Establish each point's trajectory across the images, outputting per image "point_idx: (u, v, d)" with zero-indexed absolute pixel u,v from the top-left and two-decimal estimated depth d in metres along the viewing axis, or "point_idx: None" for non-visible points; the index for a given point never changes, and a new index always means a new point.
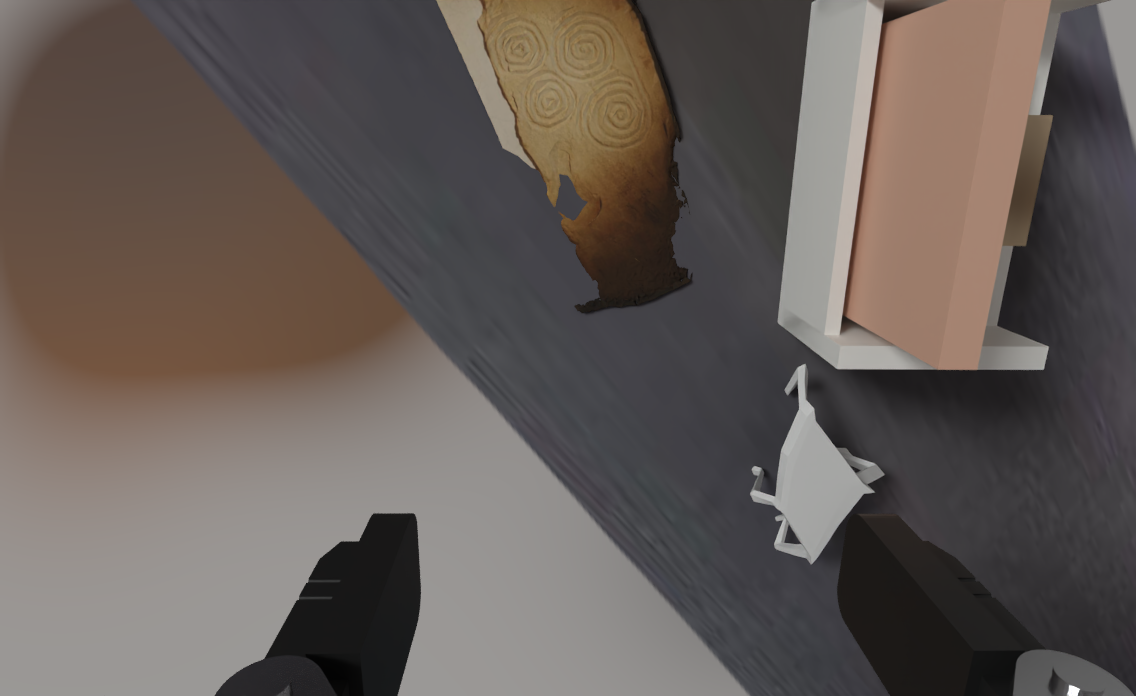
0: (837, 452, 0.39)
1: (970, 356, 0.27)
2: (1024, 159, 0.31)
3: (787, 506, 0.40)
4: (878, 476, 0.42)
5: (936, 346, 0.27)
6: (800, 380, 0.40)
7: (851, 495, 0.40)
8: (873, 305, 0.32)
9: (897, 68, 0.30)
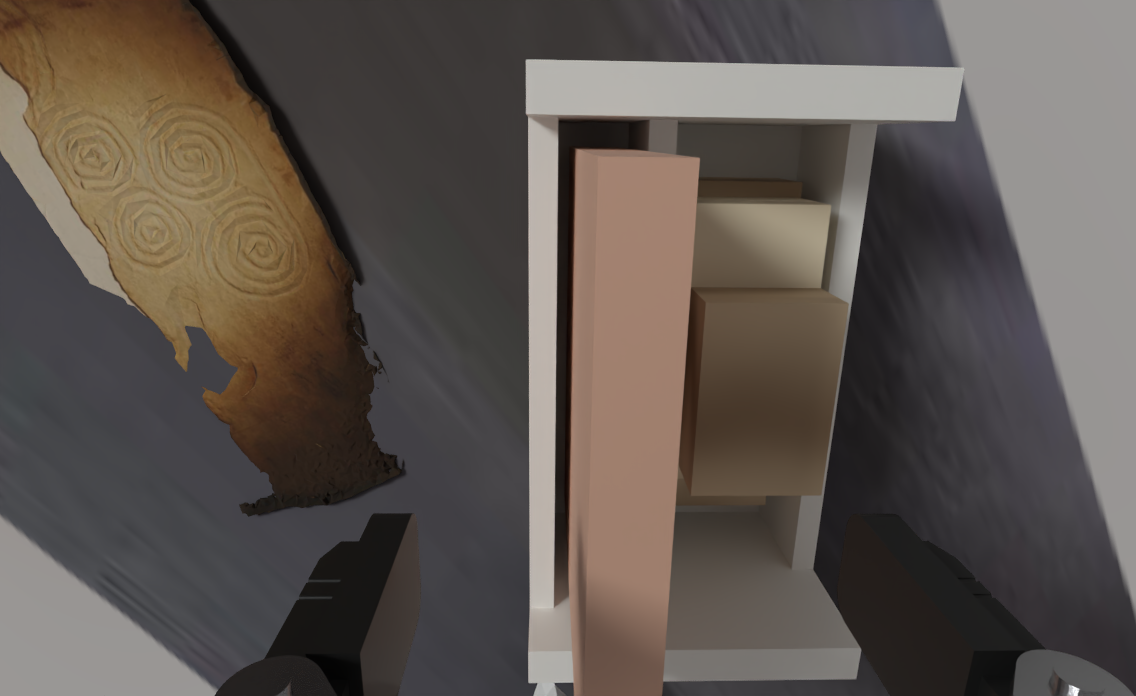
0: None
1: None
2: (807, 370, 0.19)
3: None
4: None
5: None
6: None
7: None
8: (571, 596, 0.20)
9: (576, 232, 0.18)
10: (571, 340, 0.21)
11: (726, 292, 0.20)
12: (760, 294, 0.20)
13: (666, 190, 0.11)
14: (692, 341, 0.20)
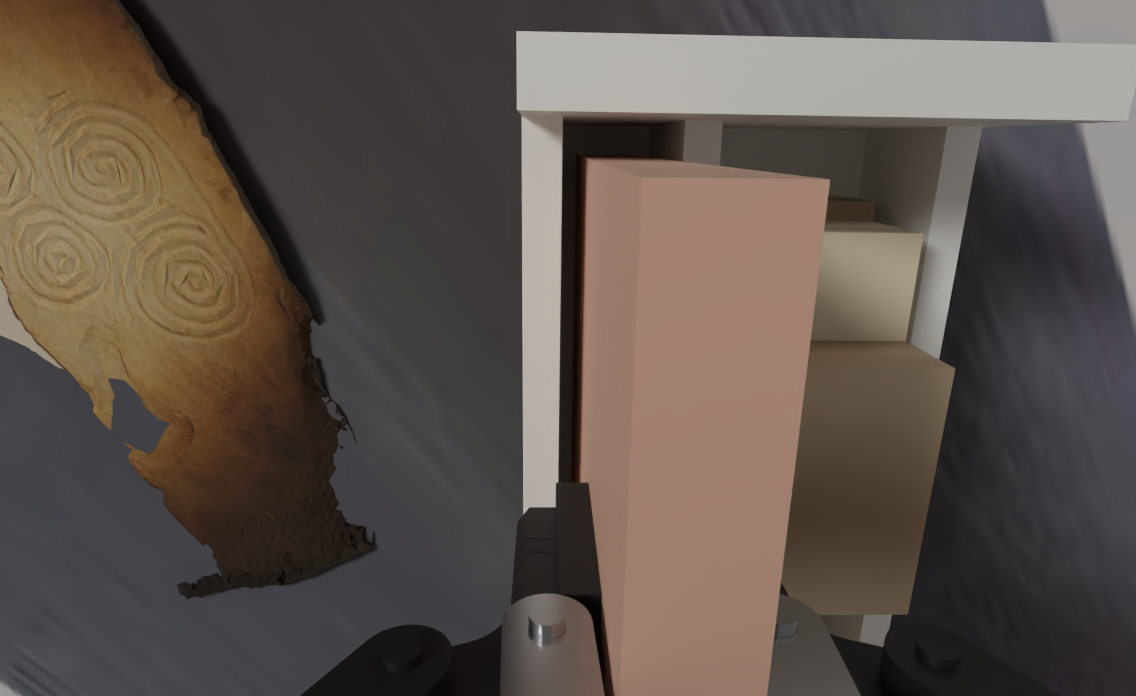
0: None
1: None
2: (895, 455, 0.14)
3: None
4: None
5: None
6: None
7: None
8: None
9: (588, 273, 0.13)
10: (580, 406, 0.16)
11: None
12: (831, 352, 0.15)
13: (767, 238, 0.06)
14: None
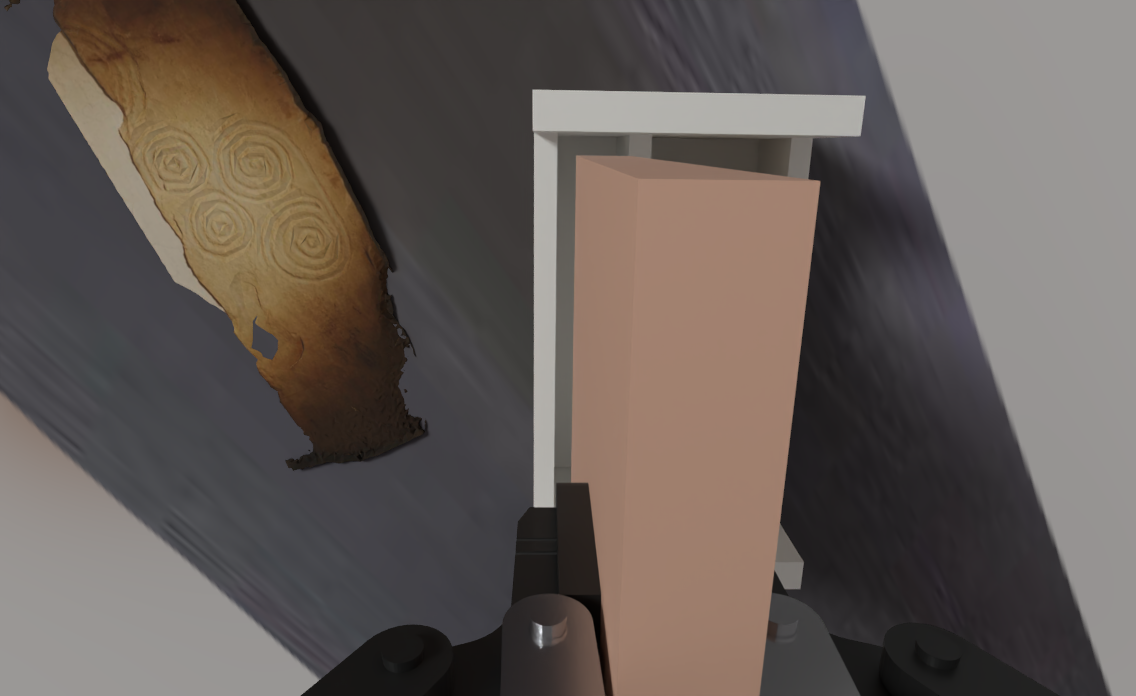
0: None
1: None
2: None
3: None
4: None
5: None
6: None
7: None
8: None
9: (587, 272, 0.13)
10: (579, 404, 0.16)
11: None
12: None
13: (759, 238, 0.06)
14: None
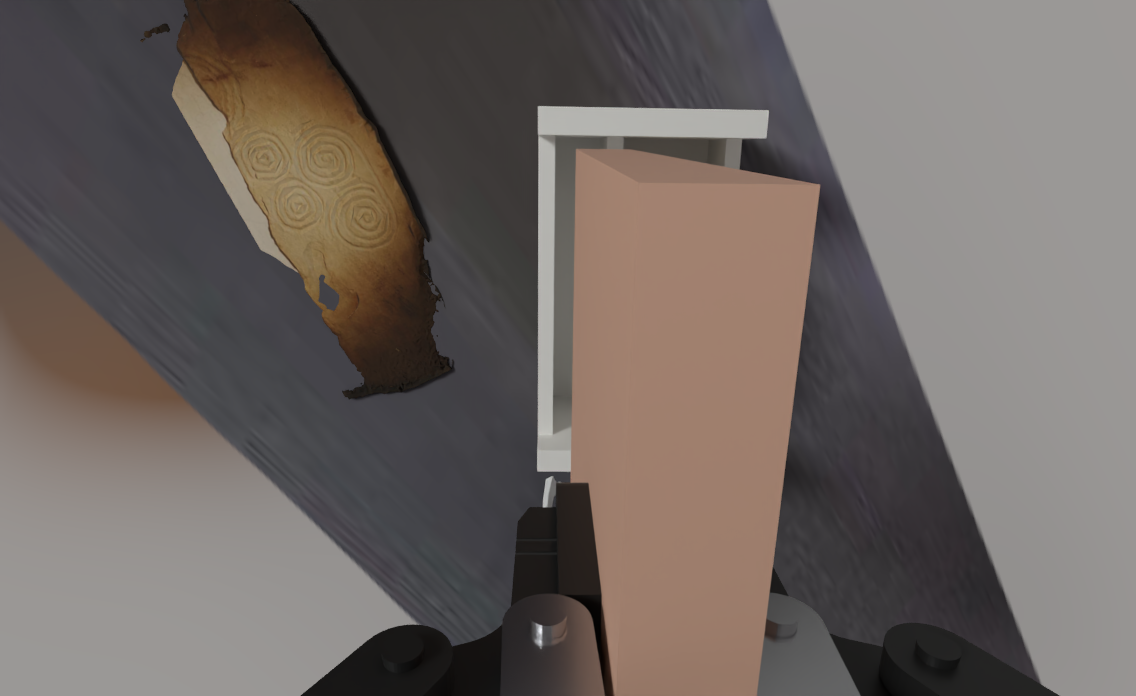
0: None
1: None
2: None
3: None
4: None
5: None
6: (546, 492, 0.42)
7: None
8: None
9: (587, 268, 0.13)
10: (579, 398, 0.16)
11: None
12: None
13: (759, 242, 0.06)
14: None
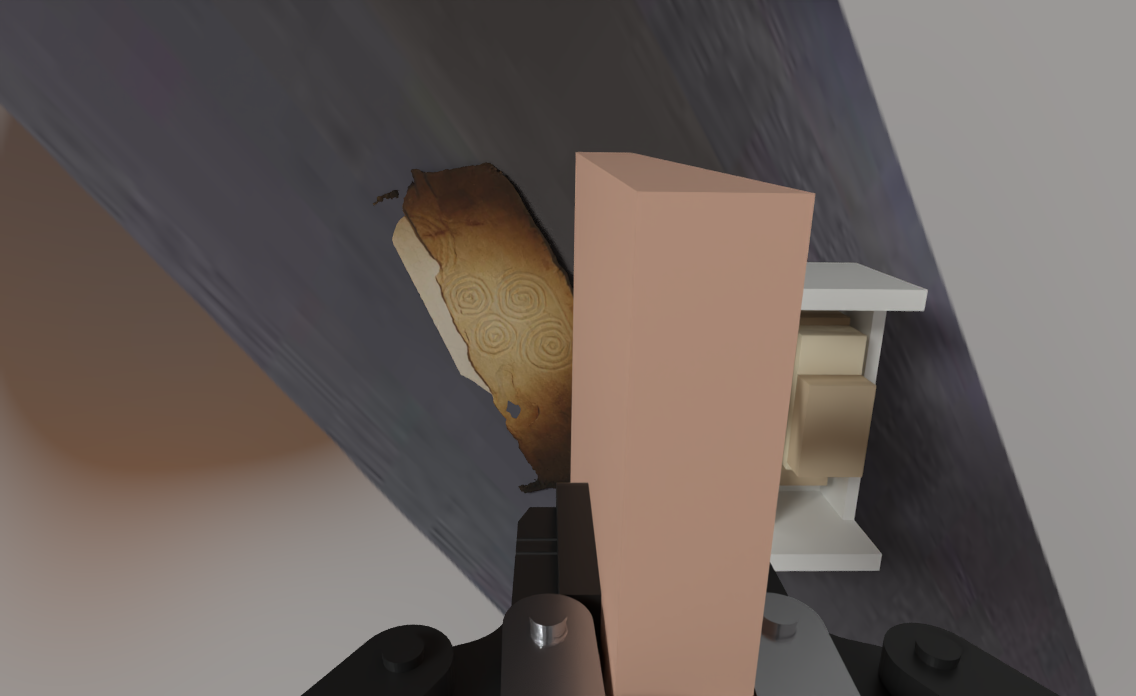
0: None
1: None
2: (856, 416, 0.40)
3: None
4: None
5: None
6: None
7: None
8: None
9: (587, 271, 0.13)
10: (579, 401, 0.17)
11: (816, 377, 0.41)
12: (833, 379, 0.41)
13: (754, 249, 0.06)
14: (798, 401, 0.41)
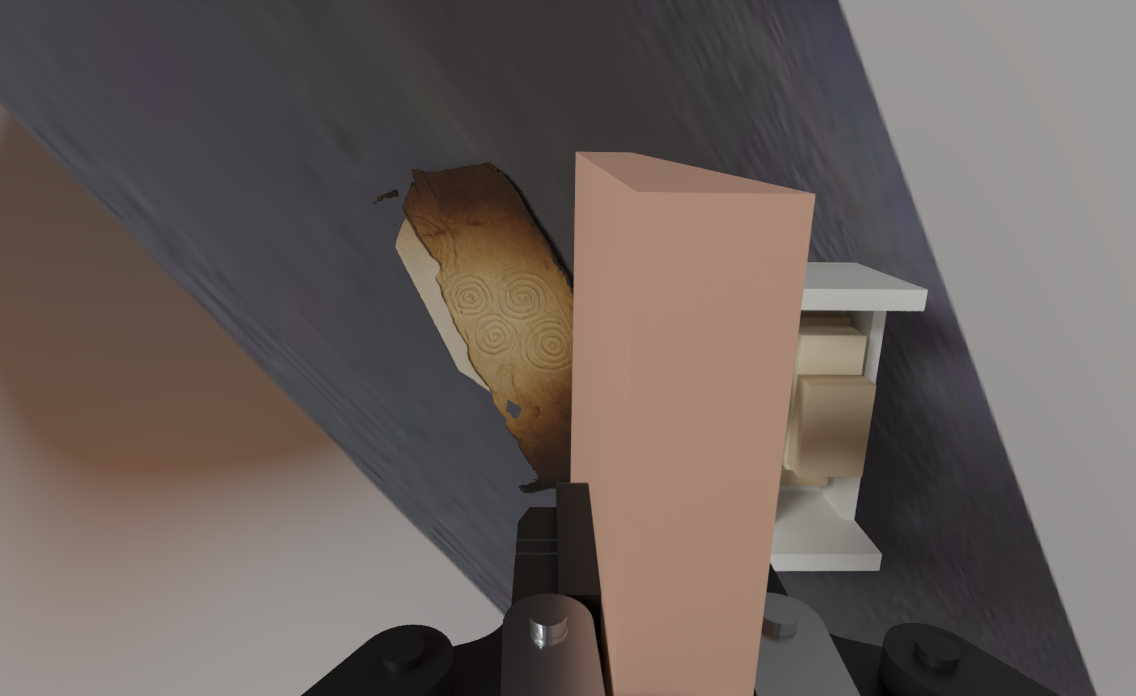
0: None
1: None
2: (856, 416, 0.40)
3: None
4: None
5: None
6: None
7: None
8: None
9: (587, 271, 0.13)
10: (579, 401, 0.17)
11: (816, 377, 0.41)
12: (833, 379, 0.41)
13: (754, 249, 0.06)
14: (798, 401, 0.41)
